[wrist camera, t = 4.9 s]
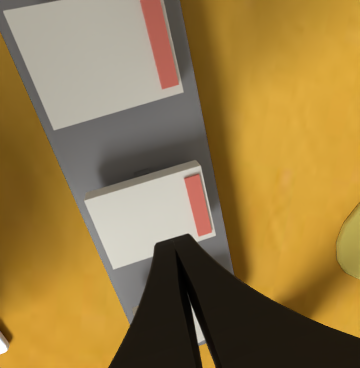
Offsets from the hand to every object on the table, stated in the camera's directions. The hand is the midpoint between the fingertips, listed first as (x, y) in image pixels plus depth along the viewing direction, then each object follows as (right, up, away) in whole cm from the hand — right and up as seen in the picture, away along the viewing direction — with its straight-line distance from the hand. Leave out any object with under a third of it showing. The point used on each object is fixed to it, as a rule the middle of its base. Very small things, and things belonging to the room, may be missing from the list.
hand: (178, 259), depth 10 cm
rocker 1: (-3, +8, +2) cm, 9 cm away
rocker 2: (-1, +1, +5) cm, 5 cm away
